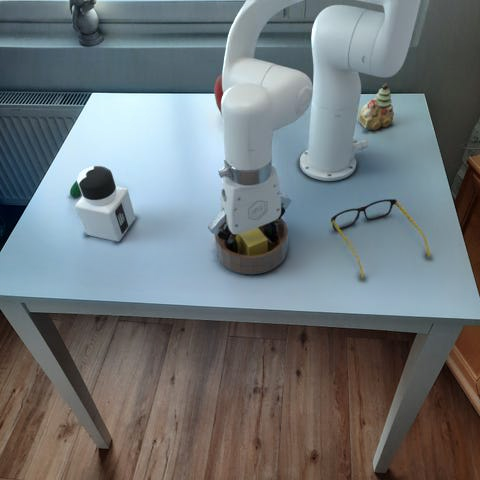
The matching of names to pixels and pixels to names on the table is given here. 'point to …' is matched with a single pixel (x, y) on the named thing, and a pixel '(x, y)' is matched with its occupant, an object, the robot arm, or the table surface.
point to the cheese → (252, 242)
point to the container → (103, 204)
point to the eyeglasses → (392, 202)
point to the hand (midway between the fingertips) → (251, 244)
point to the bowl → (255, 262)
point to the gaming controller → (75, 190)
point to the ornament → (377, 111)
